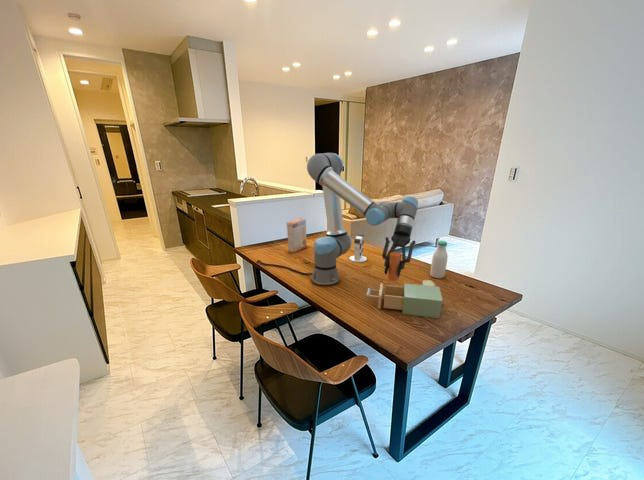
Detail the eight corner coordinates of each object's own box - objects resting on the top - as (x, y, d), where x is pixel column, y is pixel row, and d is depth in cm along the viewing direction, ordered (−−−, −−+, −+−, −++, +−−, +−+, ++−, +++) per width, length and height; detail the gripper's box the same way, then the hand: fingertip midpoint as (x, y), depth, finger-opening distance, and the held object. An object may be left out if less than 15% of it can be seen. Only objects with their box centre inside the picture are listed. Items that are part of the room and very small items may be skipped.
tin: (387, 280, 132) (389, 255, 127) (388, 276, 137) (390, 251, 132) (398, 281, 131) (401, 256, 126) (398, 277, 135) (401, 252, 130)
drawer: (364, 307, 135) (365, 293, 132) (367, 294, 146) (368, 282, 143) (410, 312, 131) (412, 299, 128) (410, 299, 141) (412, 286, 139)
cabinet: (402, 313, 131) (404, 296, 128) (402, 299, 143) (404, 283, 140) (439, 318, 128) (442, 301, 124) (436, 302, 140) (439, 286, 136)
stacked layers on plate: (415, 288, 153) (416, 278, 151) (432, 288, 153) (434, 279, 151) (420, 297, 144) (421, 287, 142) (438, 298, 144) (440, 288, 142)
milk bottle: (445, 279, 163) (451, 244, 155) (430, 278, 165) (436, 243, 156) (443, 273, 170) (449, 240, 162) (428, 272, 171) (434, 239, 163)
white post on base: (364, 263, 185) (366, 240, 179) (347, 261, 188) (347, 238, 182) (368, 256, 195) (369, 234, 189) (351, 254, 199) (352, 233, 192)
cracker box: (300, 246, 216) (299, 217, 208) (307, 247, 213) (306, 218, 204) (287, 251, 206) (286, 221, 197) (294, 253, 203) (293, 223, 194)
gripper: (424, 234, 135) (413, 281, 129) (385, 230, 143) (373, 274, 136) (423, 225, 129) (412, 274, 122) (383, 221, 136) (370, 267, 130)
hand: (391, 274), depth 129 cm, fingers closed on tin, 5 cm apart
